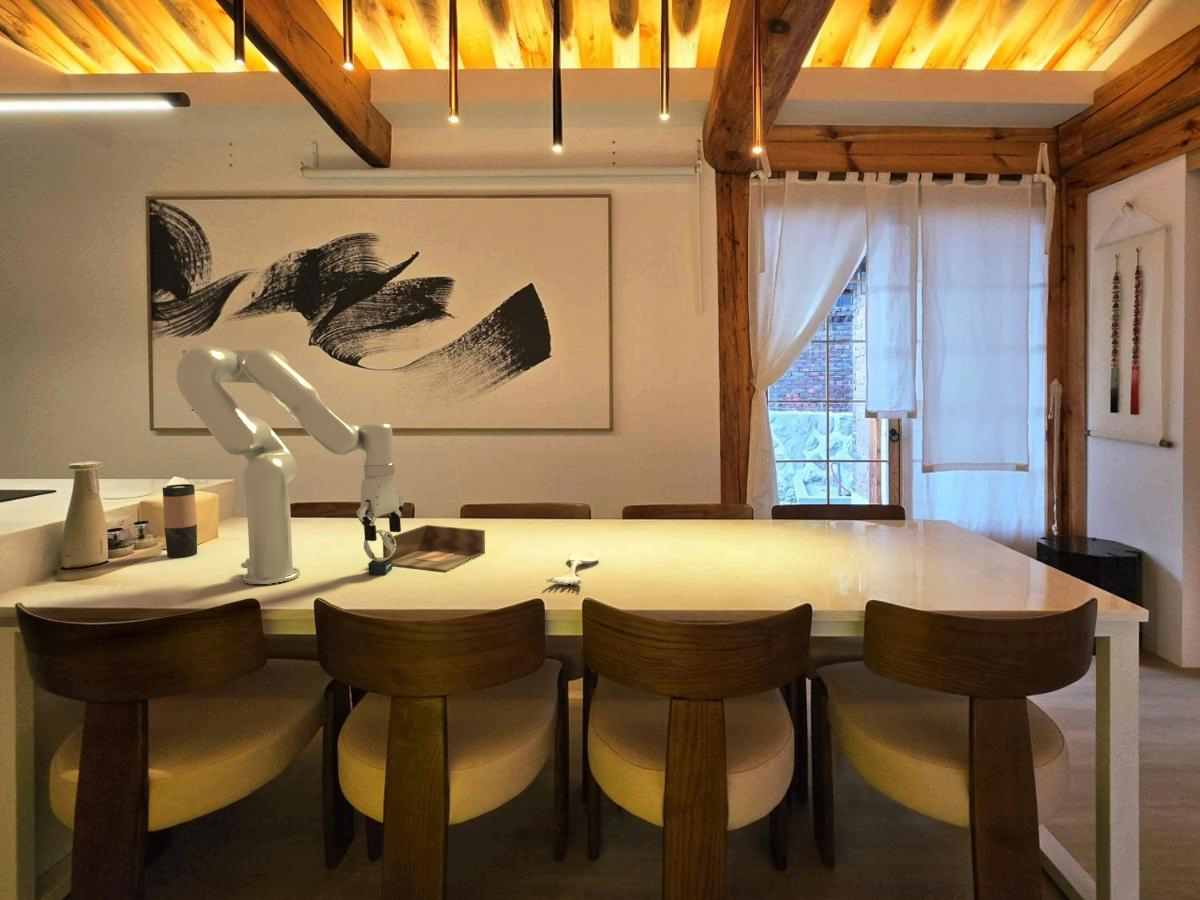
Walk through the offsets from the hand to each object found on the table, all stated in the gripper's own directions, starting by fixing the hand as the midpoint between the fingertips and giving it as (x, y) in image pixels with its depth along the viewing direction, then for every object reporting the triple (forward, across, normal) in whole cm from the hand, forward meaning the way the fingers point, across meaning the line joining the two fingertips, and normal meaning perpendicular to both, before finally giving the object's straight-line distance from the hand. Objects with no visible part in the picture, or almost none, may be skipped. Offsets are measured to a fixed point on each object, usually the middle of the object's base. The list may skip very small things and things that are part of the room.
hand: (383, 536), depth 161 cm
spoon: (+12, -17, +47) cm, 51 cm away
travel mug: (+8, +7, -65) cm, 66 cm away
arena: (+10, -15, +5) cm, 19 cm away
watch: (+10, +1, -1) cm, 10 cm away
